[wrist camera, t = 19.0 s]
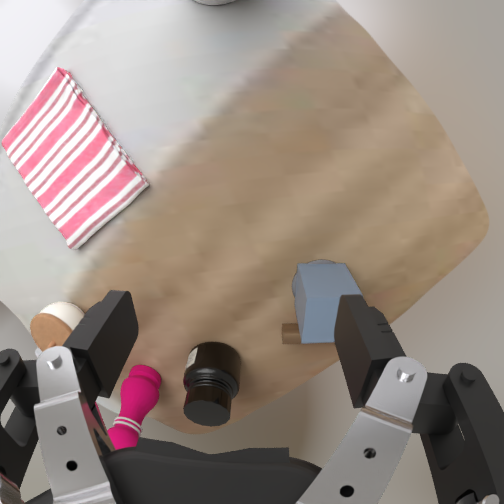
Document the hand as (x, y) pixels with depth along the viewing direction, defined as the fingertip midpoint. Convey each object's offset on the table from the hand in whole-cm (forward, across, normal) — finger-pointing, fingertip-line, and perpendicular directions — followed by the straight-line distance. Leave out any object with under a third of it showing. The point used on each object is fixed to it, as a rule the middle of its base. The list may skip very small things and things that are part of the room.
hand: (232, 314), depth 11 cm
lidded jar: (+28, +32, +23) cm, 49 cm away
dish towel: (+29, +26, -4) cm, 39 cm away
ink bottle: (+28, +6, +30) cm, 42 cm away
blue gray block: (+28, -10, +15) cm, 33 cm away
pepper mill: (+28, +20, +36) cm, 50 cm away
